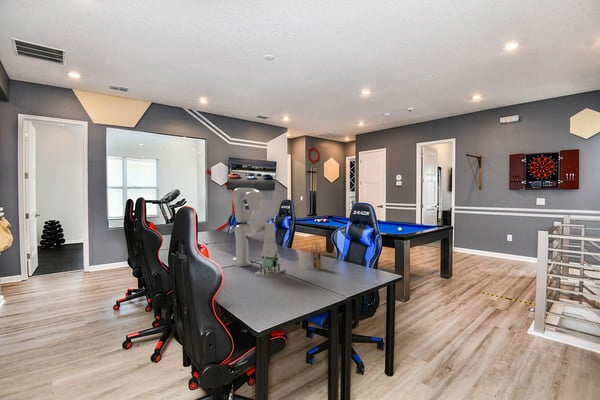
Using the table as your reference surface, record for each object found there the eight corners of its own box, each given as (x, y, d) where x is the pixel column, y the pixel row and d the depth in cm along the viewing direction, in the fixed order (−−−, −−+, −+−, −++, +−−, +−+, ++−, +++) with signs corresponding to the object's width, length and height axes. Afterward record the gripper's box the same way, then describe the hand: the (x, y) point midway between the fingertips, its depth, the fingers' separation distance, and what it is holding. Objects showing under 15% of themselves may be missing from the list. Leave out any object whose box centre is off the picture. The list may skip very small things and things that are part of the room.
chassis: (271, 277, 193) (271, 268, 193) (254, 274, 199) (254, 266, 199) (284, 270, 209) (284, 262, 209) (268, 268, 215) (268, 260, 215)
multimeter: (302, 267, 216) (301, 241, 216) (313, 266, 221) (313, 240, 220) (311, 272, 203) (310, 244, 202) (323, 270, 207) (323, 243, 207)
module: (270, 266, 197) (271, 257, 198) (262, 266, 199) (263, 257, 200) (277, 266, 208) (278, 257, 209) (270, 265, 210) (270, 257, 211)
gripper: (256, 240, 204) (257, 266, 204) (278, 242, 196) (278, 268, 197) (262, 239, 210) (262, 263, 211) (283, 240, 203) (283, 266, 203)
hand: (270, 265), depth 204 cm, fingers closed on module, 6 cm apart
